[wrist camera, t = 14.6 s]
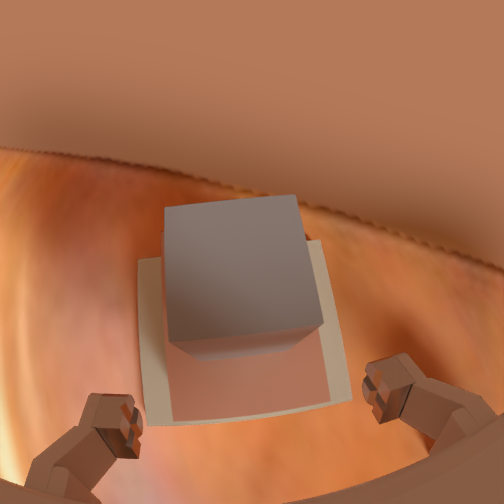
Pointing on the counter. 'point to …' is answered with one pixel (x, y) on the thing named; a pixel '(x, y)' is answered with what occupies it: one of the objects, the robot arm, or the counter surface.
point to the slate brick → (238, 278)
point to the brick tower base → (159, 353)
